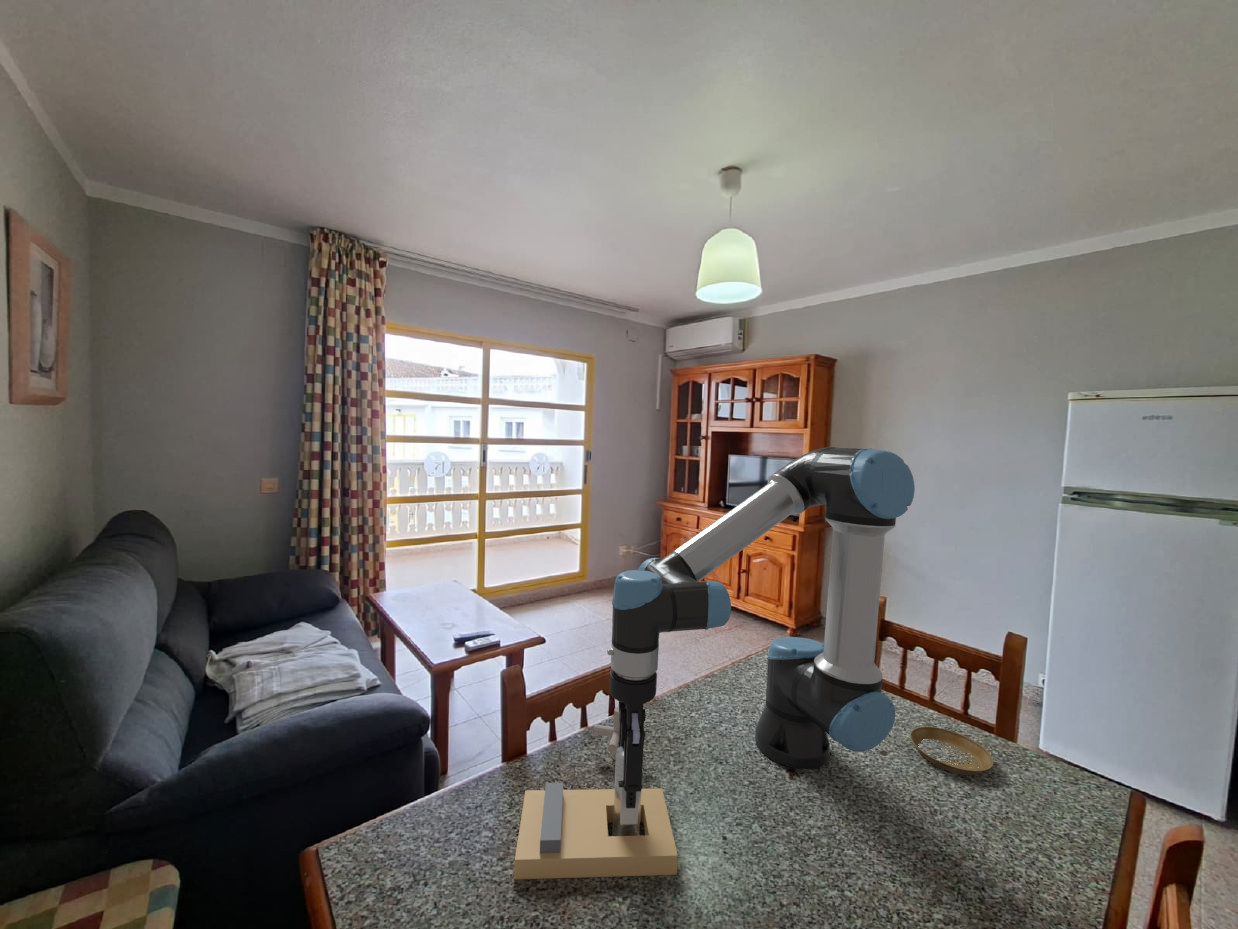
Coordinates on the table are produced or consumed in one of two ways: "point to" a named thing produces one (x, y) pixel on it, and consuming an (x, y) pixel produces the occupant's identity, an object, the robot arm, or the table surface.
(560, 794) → the jig
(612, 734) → the pipe connector
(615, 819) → the grey metal cylinder
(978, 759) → the plant saucer
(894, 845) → the table surface
